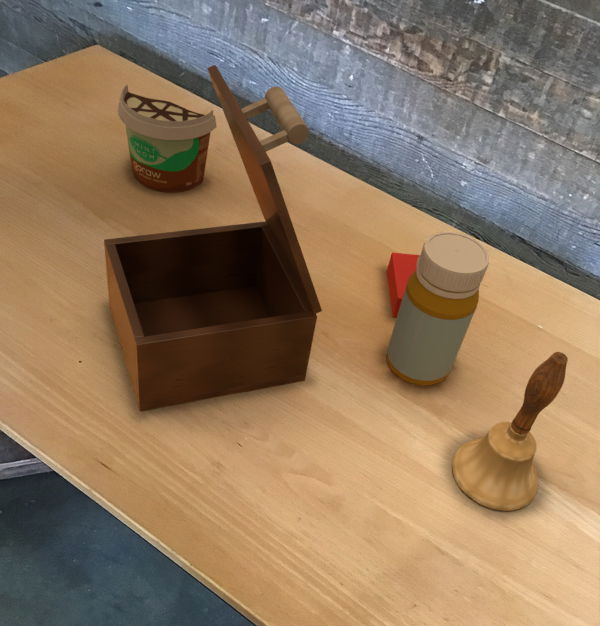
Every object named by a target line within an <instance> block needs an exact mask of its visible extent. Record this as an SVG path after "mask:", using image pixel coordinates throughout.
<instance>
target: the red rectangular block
mask: <svg viewBox="0 0 600 626" xmlns="http://www.w3.org/2000/svg"><path fill="white" fill-rule="evenodd" d="M420 255H421V254H412V253H402V252H392V251H391V254H390V258H389V262H388V265H387V269H386V277H387V284H388V293H389V300H390V308H391V316H392V318H397V315H398V312H399V309H400V305H401V302H402V299H403V295H404V292H405V289H406V285H407V283H408V280H409V277H410V276H411V275H412V274H413V273H414V271H415V270H416V268H417V265H418V263H419V258H420Z"/></svg>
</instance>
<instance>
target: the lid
mask: <svg viewBox="0 0 600 626" xmlns="http://www.w3.org/2000/svg"><path fill="white" fill-rule="evenodd" d="M206 70H207V71H208V72H207V73H208V76H209V78H210V80H211V83H212V86H213V88H214V90H215V91H214V92H215V93H216V96H217V98H218V101H219V104H220V106H221V109H222V112H223V115H224V116H225V117H224V118H225V120H226V122H227V125H228V127H229V130H230V133H231V135H232V138H233V141H234V143H235V145H236V148H237V151H238V154H239V156H240V159H241V161H242V164H243V167H244V170H245V172H246V175H247V177H248V179H249V183H250V185H251V187H252V191H253V193H254V195H255V198H256V201H257V203H258V206H259V208H260V212H261V214H262V216H263V219H264V221H266V223H267V225H268V227H269V229H270V231H271V233H272V234H273V236H274V238H275V240H276V242H277V244H278V246H279V248H280V250H281V252H282V254H283V255H284V257H285V259H286V261H287V263H288V265H289V267H290V269H291V271H292V273H293V275H294V276H295V278H296V280H297V282H298V284H299V286H300V288H301V290H302V292H303V294H304V296H305V298H306V299H307V301H308V303H309V305H310V307H311V309H312V311H313V313H314V314H316V315H317V314H319V313H321V312H323V309H322V307H321V303H320V301H319V297H318V295H317V291H316V289H315V285H314V283H313V280H312V277H311V274H310V270H309V268H308V265H307V262H306V259H305V256H304V254H303V250H302V248H301V244H300V242H299V239H298V236H297V233H296V230H295V227H294V223H293V221H292V219H291V216H290V212H289V210H288V207H287V204H286V201H285V198H284V196H283V193H282V190H281V187H280V183H279V180H278V177H277V175H276V172H275V169H274V166H273V163H272V161H271V158H270V157H269V155H268V153H267V152H269V151H271V150H273V149H275V148H277V147H280V146H282V145H284V144H286V143H288V142H289V143H290V144H292V145H301V144H302V143H303V142H305V141H306V140H307V139H308V137H309V134H310V129H309V127H308V125H307V123H305V121H304V119H303V118H302V116H301V115H300V113H299V111H298V110H297V109H296V107H295V106H294V104H293V103H292V101H291V99H290V98H289V96H288V94H287V93H286V92H285V90H284V89H283V88H282V87H280V86H272V87H270V88H268V90H267V91H266V92H265V94H264V97H263V98H262V99H260V100H257V101H255V102H253V103H251V104H248V105H246V106H244V107H242V108H241V107H240V104H239V102H238V101H237V99H236V98H235V95H234V94H233V92H232V91H231V89H230V87H229V85H228V84H227V82H226V80H225V78H224V77H223V75H222V73H221V71H220V70H219V68H218V66H217V64H213V65H211V66H208V67H207V68H206ZM268 110H269V111H270V112H271V114H272V116H273V117H274V119H275V120H276V123H277V124H278V125H279V127H280V129H281V130H280V131H279V132H277V133H275V134H272V135H269V136H268V137H266V138H264V139H261V140H260V139H259V138H258V136H257V134H256V132H255V131H254V129H253V127H252V125H251V124H250V122H249V119H251V118H253V117H255V116H257V115H259V114H261V113H264V112H266V111H268Z"/></svg>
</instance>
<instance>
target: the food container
mask: <svg viewBox="0 0 600 626" xmlns="http://www.w3.org/2000/svg"><path fill="white" fill-rule="evenodd" d="M117 114H118V117H119V119H120V121H121V122H122V123H123V124H124V125H125V131H126V138H127V146H128V152H129V159H130V165H131V172H132V175H133V177H134V179H135V180H136V181H137V182H138V184H140V185H141V186H144V187H145V188H146V189H150V190H152V191H156V192H162V193H182V192H186V191H190V190H193V189H194V188H196V187H198V186H199V185H200V184H202V182H204V178H205V172H206V167H207V166H206V165H207V158H208V152H209V145H210V138H211V132H213V131H214V130H215V129H216V128H217V127H218V126H217V120H216V115H215V114H214V110H213V109H211V111H209V112H208V113H206V114H203V113H199V112H195V111H193V110H189V109H187V108H185V107H183V106H181V105H179V104H177V103H174V102H171V101H169V100H163V99H156V98H150V97H146V96H142V95H139V94H135V93H132V92H129V86H128V84H126V85H124V87H123V88H122V91H121V93H120V95H119V101H118V107H117Z"/></svg>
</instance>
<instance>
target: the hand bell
mask: <svg viewBox="0 0 600 626" xmlns="http://www.w3.org/2000/svg"><path fill="white" fill-rule="evenodd" d="M568 361H569V358H568V356H567V355H566V354H565V353H564V352H560V351H555V352H553V353H552V354H551V355H550V356H549V357H548V358H547V359H546V360H544V361H542V363H540V364H539V365H538V366H537V367H536V368H535V369H534V370H533V372H532V374H531V376H530V377H529V379H528V381H527V384H526V387H525V389H524V394H523V395H524V396H523V401H522V405H521V407H520V408H519V410H518V412H517V413H516V415H515V416H514V418H513V419H512V420H511V421H502V422H498V423H496V424H494V425H492V426H491V428H490V429H489V430H488V432H487V433H486V435H485V436H484V437H481V438H476V439H472V440H470V441H467V442H465V443H464V444H462V445H461V446H459V448H458V449H457V450H456V452H455V453H454V455H453V458H452V460H451V461H452V462H451V469H452V475H453V478H454V480H455V482H456V484H457V486H458V487H459V489H460V490H461V491H462V492H463V493H464V494H465V495H466V496H467V497H469V498H470V499H471V500H473V501H474V502H475V503H477V504H479V505H481V506H483V507H484V508H485V507H486V508H488V509H491V510H496V511H505V512H511V511H517V510H520V509H523V508H525V507H526V506H528V505H529V504H530V503H531V502H532V501H534V499H535V498H536V496H537V493H538V490H539V477H538V473H537V470H536V469H535V468H536V467H535V466H534V464H533V461H534V459H535V458H534V457H535V455H536V452H537V441H536V438H535V437H534V435H533V434H532V433H531V429H532V427H533V425H534V423H535V422H536V419H537V417H538V416H539V414H540V413H541V412H542V411H543V410H544V409H546V408H547V407H548V406H549V405H550V404H551V403H553V401H555V399H556V397H557V396H558V395H559V393H560V392H561V389H562V388H563V385H564V383H565V379H566V372H567V365H568Z"/></svg>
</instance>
